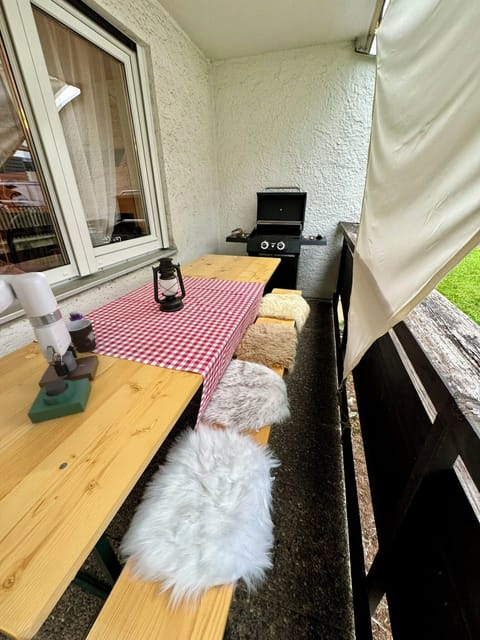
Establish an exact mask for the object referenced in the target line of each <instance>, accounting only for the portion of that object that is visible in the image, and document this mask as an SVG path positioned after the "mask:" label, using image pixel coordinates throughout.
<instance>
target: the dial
mask: <svg viewBox="0 0 480 640" xmlns="http://www.w3.org/2000/svg"><path fill="white" fill-rule="evenodd" d="M57 355H60V354H58V353H57ZM63 359H64V363H66V364H67V366H68V368H69V371H72V370H74V369H75V368H76V367H77V364H76V361H75V359H76V358H75V359H74V357H73V355H72V352H70V351H66V352H65V354H64V355H63ZM55 360H56V361H57V360H58V361H60V358H59V357H57V358H55Z"/></svg>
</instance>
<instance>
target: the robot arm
mask: <svg viewBox="0 0 480 640" xmlns="http://www.w3.org/2000/svg"><path fill="white" fill-rule="evenodd" d="M17 301H19V303H20V305H21V307H22V309H23V311H24V314H25V315H26V317H27V319H28V321H29V323H30V326H31V328H33V332H34V336H35V339H36V342H37V345H38V347H39V349H40V352H41V354H42V356H43V358H44V359H45V360H46V363H47V364H48V365H49V364H50V365H51V366H52V367H54V369H55V371H56V373H57V375H58V376H59V377H61V376H65V375H70V371H69V368H68V366H67V364H66V363H64V359H63V355H64V354H65V352H66V351H70V352H72V355H73V357H74V359H77V358H78V355H77V352H76V349H75V348H74V347H75V346H74V345H73V343H72V342H71V337H70V334H69V331H68V329H67V327H66V325H67V324H66V323H65V321H64V320H63V319H64V316H63V314H62V311H61V310H60V307H59V304H58V302H57V300H56V297H55V295H54V293H53V290H52V288H51V286H50V283H49V281H48V278H47V277H46V275H45V274H44V273H42V272H38V271H34V272H33V271H32V272H25V273H20V274H0V314H2V313H3V312H4V311H5V310H7V308H8V307H10V306H11V305H12V304H13V303H15V302H17ZM58 354H60V355H58ZM57 357H59V358H60V361H58V360H57V361H56V359H55V358H57Z"/></svg>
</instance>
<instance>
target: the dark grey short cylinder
mask: <svg viewBox="0 0 480 640" xmlns="http://www.w3.org/2000/svg"><path fill="white" fill-rule="evenodd" d="M66 389H67V385H66V383H65V381H64V380H63V379H57V380H54V381H51V382H50V383H48V384H47V385H46V387H45V390H46V392H47V393H48V395H49V396H55V395H58V394H60V393H62V392H64V391H65V390H66Z"/></svg>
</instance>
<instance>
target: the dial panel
mask: <svg viewBox="0 0 480 640" xmlns="http://www.w3.org/2000/svg"><path fill="white" fill-rule="evenodd" d="M75 361H76V364H77V367H76V368H75V369H74V370H72V371H70V375H65V376H61V377H59V376H58V375H57V373H56V371H55V369H54V367H52V366H51V365H50V364H49V363H48V366H47V367H46V369H45V371H44V373H43V375H42V376H41V379H40V380H39V382H38V386H39V388H40V389H41V388H43V387H46V385H47V384H48V383H50V382H51V381H54V380H57V379H63V380H70V381H76V380H81V379H86V378H88V379H89V382H92V381H94V380H95V378H96V374H97V370H98V367H99V363H100V360H99V358H98V356H97V354H94V355H88V356H83V357H82V356H81V357H77V358H75Z"/></svg>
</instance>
